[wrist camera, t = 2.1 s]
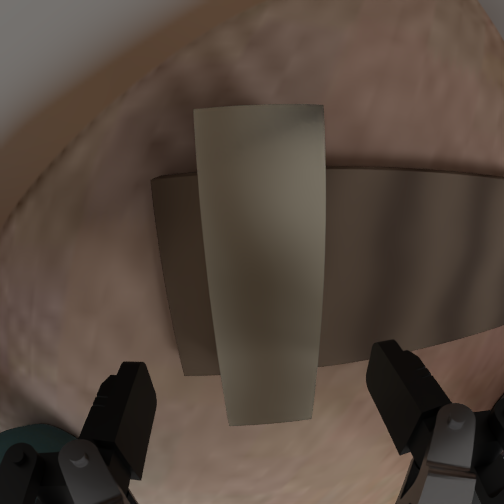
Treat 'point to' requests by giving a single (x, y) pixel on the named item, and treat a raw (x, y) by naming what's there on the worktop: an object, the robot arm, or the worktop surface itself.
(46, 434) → the plant pot
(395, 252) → the walnut plank
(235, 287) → the beige wooden block
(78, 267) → the worktop surface
